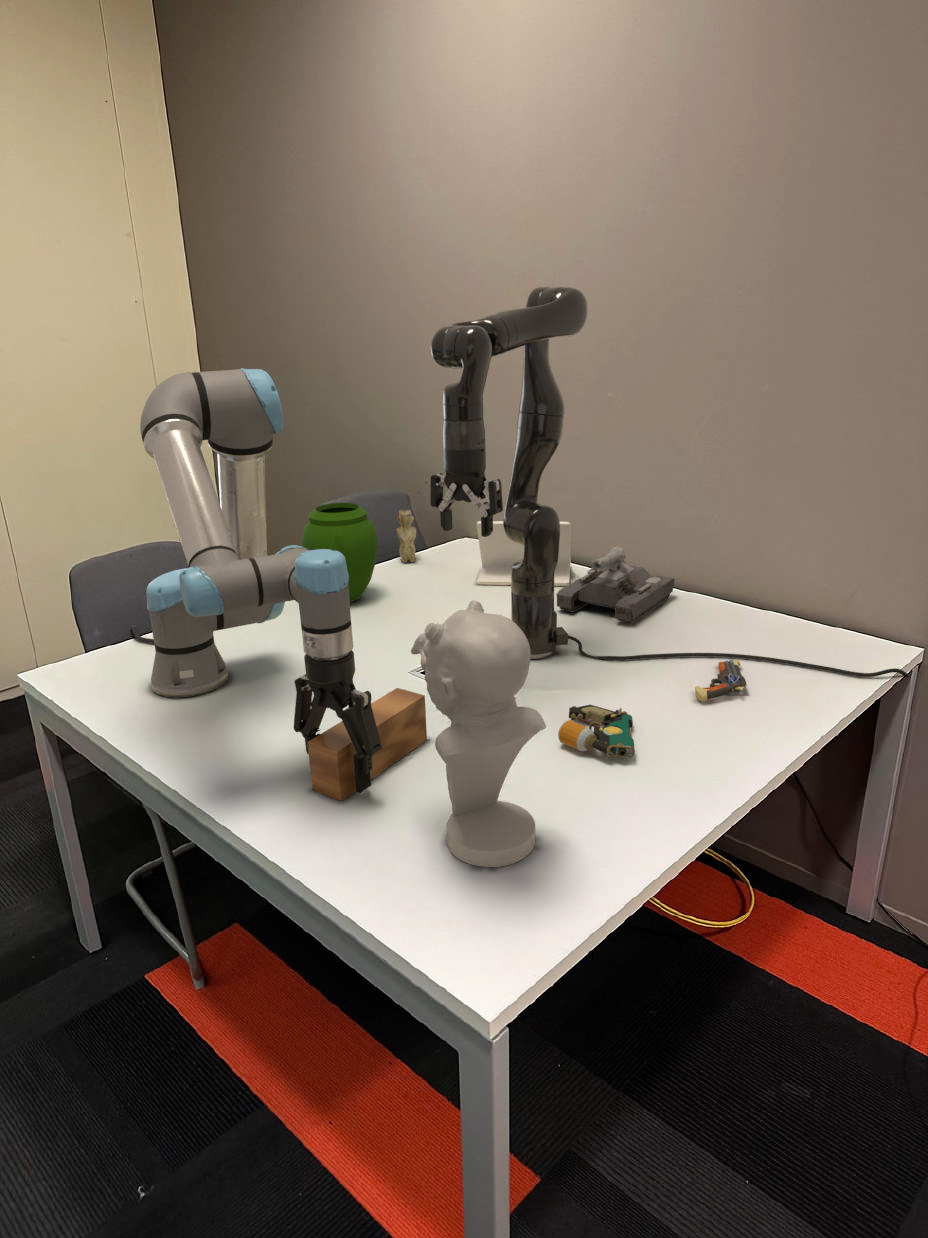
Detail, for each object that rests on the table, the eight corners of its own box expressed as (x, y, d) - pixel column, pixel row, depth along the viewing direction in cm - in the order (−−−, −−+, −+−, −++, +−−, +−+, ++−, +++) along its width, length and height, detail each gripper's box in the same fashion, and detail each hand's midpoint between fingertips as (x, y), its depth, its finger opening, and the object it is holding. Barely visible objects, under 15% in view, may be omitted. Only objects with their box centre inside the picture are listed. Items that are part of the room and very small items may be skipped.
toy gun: (696, 691, 161) (751, 688, 159) (689, 658, 179) (739, 655, 177) (697, 705, 162) (752, 702, 159) (690, 670, 179) (740, 667, 177)
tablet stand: (569, 585, 229) (570, 524, 223) (476, 584, 232) (475, 523, 226) (570, 566, 246) (571, 508, 240) (484, 564, 249) (483, 507, 243)
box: (399, 731, 155) (397, 687, 152) (427, 740, 152) (424, 695, 149) (312, 790, 137) (307, 742, 134) (341, 801, 134) (336, 751, 131)
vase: (396, 593, 227) (391, 503, 219) (349, 616, 212) (341, 520, 203) (340, 582, 237) (333, 496, 228) (291, 603, 222) (281, 511, 213)
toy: (603, 584, 229) (605, 530, 224) (673, 597, 218) (677, 540, 213) (555, 612, 210) (556, 553, 205) (630, 627, 199) (633, 566, 194)
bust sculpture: (481, 772, 140) (476, 569, 128) (565, 848, 120) (569, 617, 108) (392, 800, 134) (378, 588, 121) (465, 886, 114) (457, 642, 101)
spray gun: (574, 713, 161) (653, 730, 155) (544, 749, 146) (630, 769, 140) (576, 692, 159) (656, 709, 153) (546, 727, 145) (632, 746, 139)
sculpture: (417, 556, 259) (415, 507, 254) (417, 563, 252) (415, 513, 247) (398, 557, 259) (395, 508, 254) (398, 564, 252) (395, 514, 247)
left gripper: (260, 646, 133) (275, 772, 141) (368, 675, 121) (378, 811, 129) (294, 631, 138) (307, 753, 146) (400, 657, 127) (408, 788, 135)
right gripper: (419, 445, 152) (423, 533, 158) (486, 450, 145) (488, 542, 150) (443, 438, 158) (446, 524, 164) (509, 443, 150) (510, 533, 156)
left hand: (340, 780), depth 138 cm, fingers open, 9 cm apart
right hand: (466, 533), depth 157 cm, fingers open, 8 cm apart
